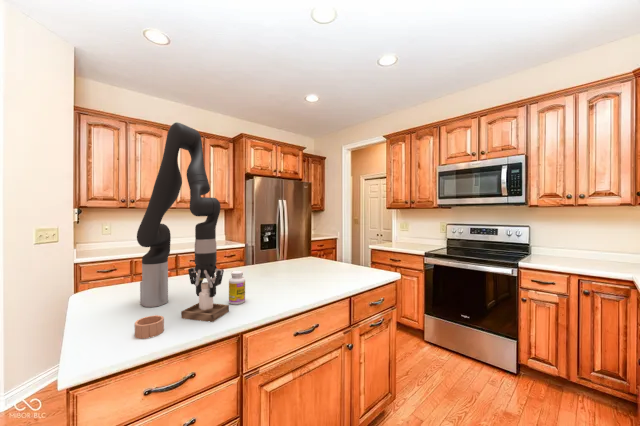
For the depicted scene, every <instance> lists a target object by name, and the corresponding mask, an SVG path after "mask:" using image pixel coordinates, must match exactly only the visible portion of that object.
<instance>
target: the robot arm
mask: <svg viewBox="0 0 640 426" xmlns="http://www.w3.org/2000/svg"><path fill="white" fill-rule="evenodd" d="M166 136H167V137H166V140H165V144H164V150H163V155H162V159H161V163H160V166H159V169H158V173H157V176H156V179H155V181H154V185H153V188H152V192H151V196H150V198H149V202H148V205H147V208H146V209H145V212H144V215H143V217H142V220H141V222H140V224H139V226H138V229H137V232H136V240H137V244H138V245H139V246H140V247H142V248H149V250H148V251H147V253H145V254H144V255H143V256H142V258H141V277H142V278H141V281H140V282H139V285H140V286H139V295H140V296H139V297H140V300H139V303H140V304H139V305H140V306H143V307H145V308H153V307H159V306H163V305H166V304H167V303H169V256H170V253H171V241H172V240H171V231H170V228H169V226H167V225H166V224H164V223H161V222H162V220H163V219H164V218H163V217H164V215H165V214H166V213H167V212H168V211H169V209H170V208H171V207H172V206H173V204H174V203H175V202H176V201H177V199H178V197H179V194H180V191H181V189H182V184H183V179H182V178H183V176H182V174H181V170H180V168H179V167H180V166H179V162H178V158H179V152H180V149H181V150H185V151H187V152H188V153H189V156H190V162H189V164H188V167H187V169H186V179H187V183H188V188H189V196H190V197H189V198H190V199H189V211H190V213H191V214H192V215H193V216H195V217H206V219H205V220H204V221H202V222H199V223H197V224H196V225H195V228H194V229H195V230H194V231H195V232H194V233H195V235H194V236H195V237H194V238H195V240H194V264H195V266H194V267H190V268H188V269H187V271H188V275H189V280H190V284H191V285H193V286H195V294H196V296H197V297H199V293H200V292H202V289H201V284H202V283H204V281H203V280H205V279H206V280H207V281H206V282H209V284H210V297H213V298H214V297H216V295H217V287H218V286H220V285H221V284H222V282H223V276H224V269H223V268H222V269H220V268H217V261H218V260H217V252H218V251H217V238H216V237H217V236H216V235H217V232H216V231H217V230H216V229H217V223H218V221H219V216H220V213H221V207H222V206H221V203H220V201H219V199H217V198H216V197H203V196H204V195H207V194H208V193H210V191H211V186H210V183H209V179H208V176H207V172H206V169H205V168H206V167H205V161H204V160H205V159H204V150H203V149H204V148H203V141H202V140H203V139H202V135H201V134H200V132H199V131H198V130H197V129H195V128H193V127H190V126H188V125H186V124H183V123H181V122H174V123H172V124H171V126H170V128H169V129H168V131H167V135H166Z"/></svg>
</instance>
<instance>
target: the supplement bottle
mask: <svg viewBox="0 0 640 426" xmlns="http://www.w3.org/2000/svg"><path fill="white" fill-rule="evenodd" d="M230 274H231V275H230V276H231V277H230V278H229V279H228V302H229V304H231V305H241V304H243V303H245V301H246V278H245V277H244V276H243V275H244V271H242V270H234V271H232V272H231V273H230Z"/></svg>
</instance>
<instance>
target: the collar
mask: <svg viewBox="0 0 640 426" xmlns="http://www.w3.org/2000/svg"><path fill="white" fill-rule="evenodd" d="M164 331H165V317H164V316H162V315H158V314H157V315H156V314H155V315H149V316H144V317H141V318H139V319H137V320H136V321H135V322H134V337H135V338H136V339H140V340H141V339H143V338H144V339H149V337H151V338H153V336H154V337H157V336H160V335H161V334H163V333H164ZM144 339H143V340H144Z"/></svg>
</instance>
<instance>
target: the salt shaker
mask: <svg viewBox="0 0 640 426" xmlns="http://www.w3.org/2000/svg"><path fill="white" fill-rule="evenodd" d="M201 289H202V292H200V293H199V296H198V303H199V308H200V309H201V310H208V309H211V308H213V303H214V297H210V284H209V282H208V281H206V282H205V281H204V282H202V284H201Z"/></svg>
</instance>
